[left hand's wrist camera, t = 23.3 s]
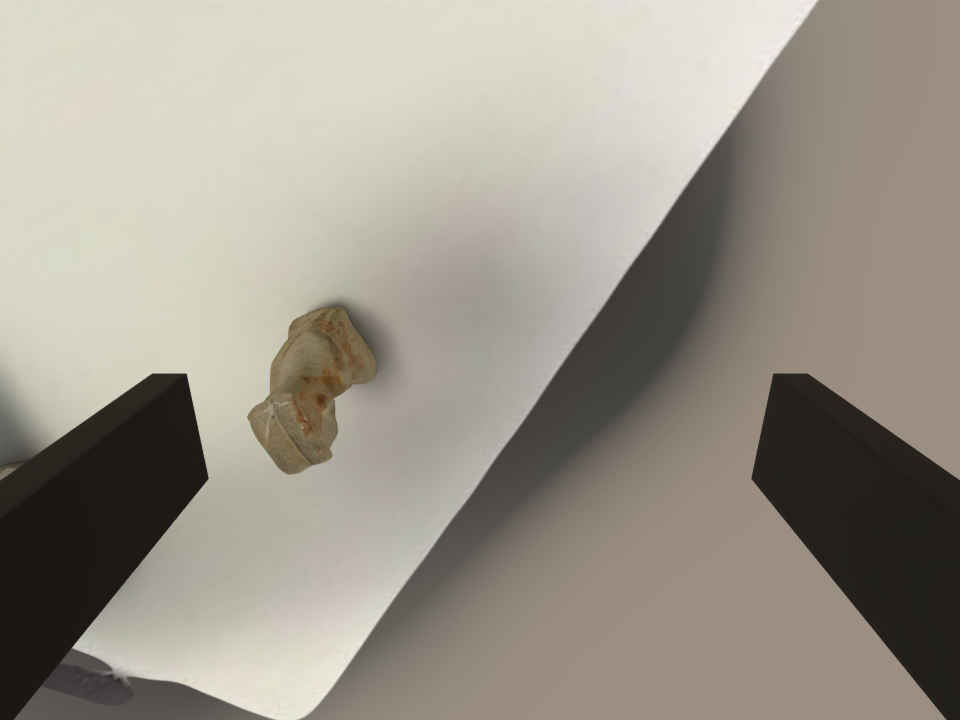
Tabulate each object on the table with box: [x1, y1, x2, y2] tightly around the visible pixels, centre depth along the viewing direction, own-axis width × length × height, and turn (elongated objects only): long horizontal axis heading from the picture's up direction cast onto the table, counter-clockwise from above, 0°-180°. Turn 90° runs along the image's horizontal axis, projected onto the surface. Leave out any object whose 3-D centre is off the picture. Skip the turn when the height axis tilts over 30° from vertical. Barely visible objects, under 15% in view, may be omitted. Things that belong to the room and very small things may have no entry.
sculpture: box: [248, 307, 377, 475], centre depth 39 cm, size 6×7×15 cm
